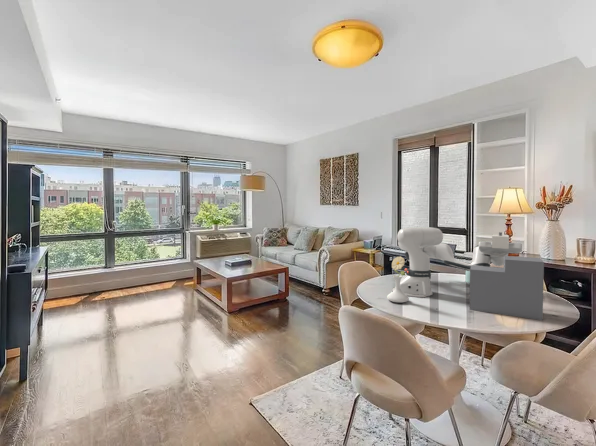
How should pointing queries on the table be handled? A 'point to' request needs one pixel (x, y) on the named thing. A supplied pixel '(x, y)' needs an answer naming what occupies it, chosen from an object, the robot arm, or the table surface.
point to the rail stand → (509, 288)
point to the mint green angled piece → (467, 277)
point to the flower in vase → (398, 282)
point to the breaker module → (500, 241)
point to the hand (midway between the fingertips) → (499, 241)
